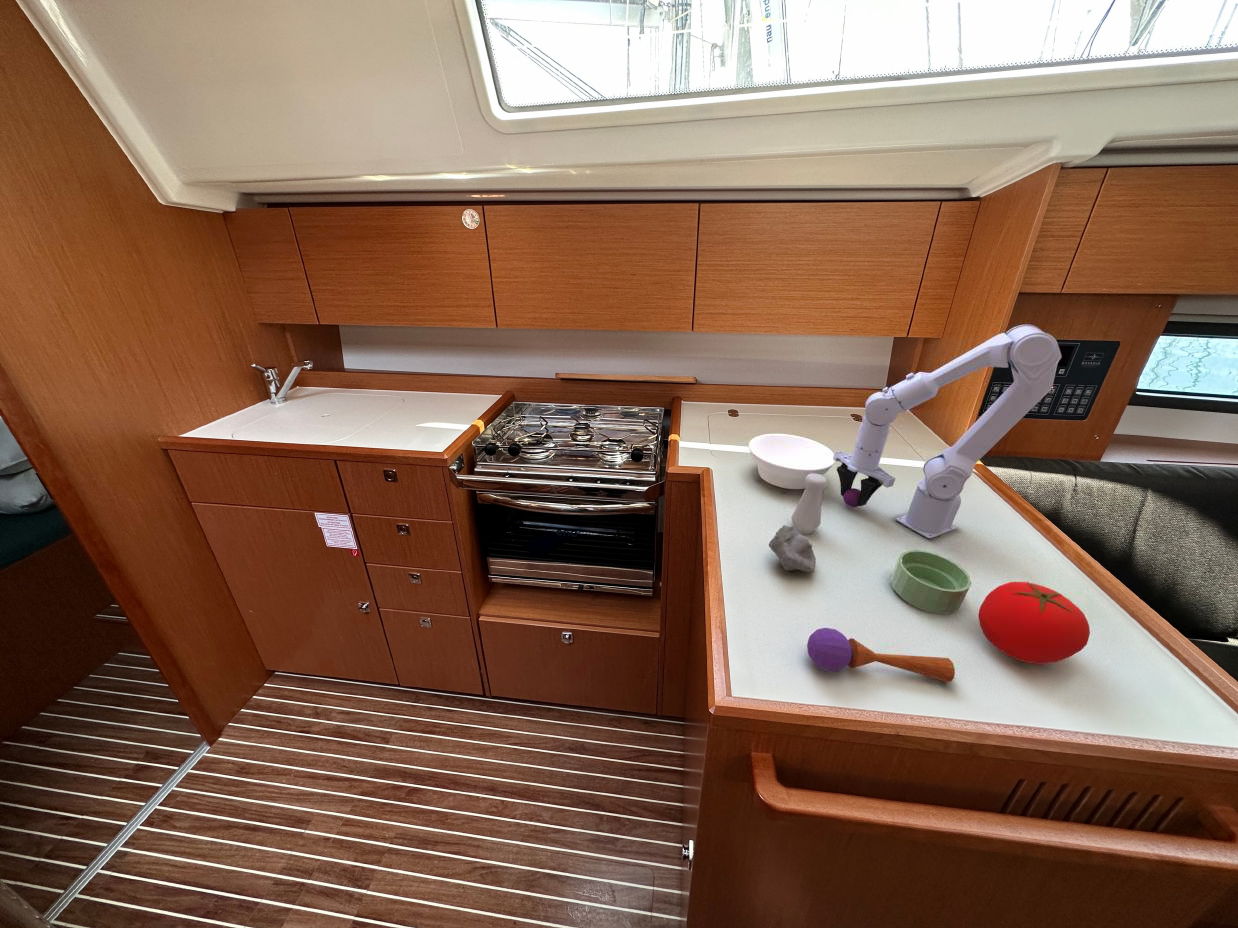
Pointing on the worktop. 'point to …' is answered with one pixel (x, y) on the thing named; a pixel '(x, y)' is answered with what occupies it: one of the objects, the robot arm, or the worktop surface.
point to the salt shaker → (810, 505)
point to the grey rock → (793, 549)
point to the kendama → (870, 656)
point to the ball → (851, 497)
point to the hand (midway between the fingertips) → (852, 499)
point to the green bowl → (930, 581)
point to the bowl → (789, 459)
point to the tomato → (1033, 623)
